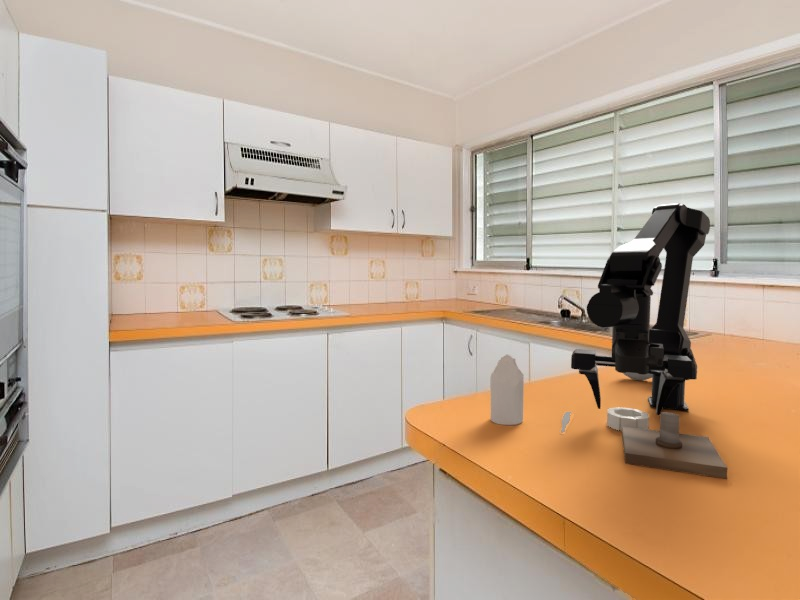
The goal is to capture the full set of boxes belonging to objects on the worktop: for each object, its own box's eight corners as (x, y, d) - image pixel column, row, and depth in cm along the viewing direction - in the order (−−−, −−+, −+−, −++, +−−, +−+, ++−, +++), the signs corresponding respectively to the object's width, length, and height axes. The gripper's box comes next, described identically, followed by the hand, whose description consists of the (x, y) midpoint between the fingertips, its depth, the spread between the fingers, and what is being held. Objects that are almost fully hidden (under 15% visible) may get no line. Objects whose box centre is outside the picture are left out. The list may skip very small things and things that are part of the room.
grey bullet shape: (497, 358, 79) (486, 352, 85) (496, 426, 80) (485, 416, 86) (529, 357, 80) (516, 351, 86) (528, 424, 81) (515, 414, 87)
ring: (606, 418, 84) (607, 405, 84) (646, 423, 82) (646, 410, 81) (607, 429, 78) (607, 416, 78) (649, 435, 76) (650, 421, 76)
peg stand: (621, 435, 76) (623, 399, 75) (707, 446, 71) (709, 408, 71) (625, 463, 65) (626, 421, 64) (726, 478, 60) (729, 434, 60)
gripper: (570, 325, 75) (567, 418, 76) (704, 331, 68) (699, 434, 69) (574, 318, 85) (572, 400, 86) (691, 323, 78) (687, 413, 79)
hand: (627, 411), depth 80 cm, fingers open, 9 cm apart
